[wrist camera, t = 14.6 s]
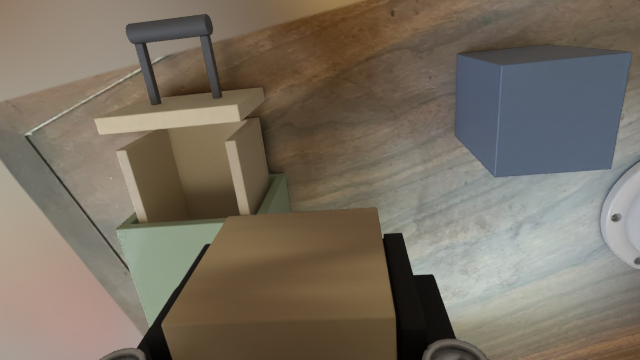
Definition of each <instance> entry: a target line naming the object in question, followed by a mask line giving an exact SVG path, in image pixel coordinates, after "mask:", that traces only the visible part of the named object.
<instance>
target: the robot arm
mask: <svg viewBox="0 0 640 360" xmlns="http://www.w3.org/2000/svg"><path fill="white" fill-rule="evenodd" d="M600 228H601V232H602V236H603V239H604V241H605V243H606V244H607V246H608V248H609V249H610V250H611V251H612V252H613V253H614V254H615V255H616V256H618V257H619V258H620V259H621V260H623V261H624V262H625V263H627V264H629V265H630V266H632V267H635V268H638V269H640V162H638V163H637V164H636V165H634V166H633V167H632V168H630V169H629V170H628V171H627V172H626V173H625V174H624V175H623V176H622V177H621V178H620V179H619V180H618V181H617V182H616V184H615V185H614V186H613V188H612V189H611V191H610V192H609V194H608V196H607V198H606V200H605V202H604V205H603V208H602V213H601V222H600ZM382 240H383V246H384V252H385V257H386V263H387V269H388V275H389V281H390V287H391V293H392V298H393V304H394V310H395V316H396V343H397V360H489V359H488V358H487V357H486V355H485V354H484V353H483V352H482V351H481V350H479V349H478V348H477V347H476V346H474V345H472V344H470V343H468V342H465V341H461V340H457V339H456V337H455V335H454V332H453V329H452V326H451V323H450V320H449V318H448V315H447V312H446V309H445V306H444V303H443V300H442V298H441V295H440V292H439V289H438V286H437V283H436V280H435V278H434V276H433V275H432V274H430V275H413V272H412V269H411V265H410V261H409V258H408V254H407V250H406V246H405V243H404V239H403V235H402V233H391V234H384V239H382ZM210 245H211V244H205V245H204V247H203V248H202V250H201V251H200V253H199V255H198V256H197V258H196V259H195V261H194V262H193V264H192V265H191V267H190V269H189V270H188V272H187V273H186V275H185V276H184V278H183V279H182V281H181V283H180V284H179V286H178V287H177V288H176V289H175V290H174V291H173V293H172V294H171V296H170V298H169V299H168V301H167V302H166V304H165V305H164V307H163V308H162V310H161V311H160V313H159V315H158V316H157V318H156V319H155V321H154V322H153V324H152V325H151V327H150V328H149V330H148V332H147V333H146V335H145V336H144V338H143V339H142V341H141V342H140V344H139V345H138V347H137V348H125V349H121V350H117V351H114V352H112V353H110V354H108V355H106V356H104V357H103V358H101V359H100V360H173V359H172V356H171V353H170V350H169V347H168V344H167V341H166V338H165V335H164V332H163V329H162V322H163V320H164V319H165V317H166V316H167V314H168V312H169V311H170V309H171V308H172V306H173V304H174V303H175V301H176V299H177V298H178V296H179V295H180V293H181V291H182V290H183V288H184V287H185V285H186V283H187V282H188V280H189V278H190V277H191V275H192V274H193V272H194V270H195V269H196V267H197V266H198V264H199V262H200V261H201V259H202V257H203V256H204V254H205V253H206V251H207V249H208V248H209V246H210Z"/></svg>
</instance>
